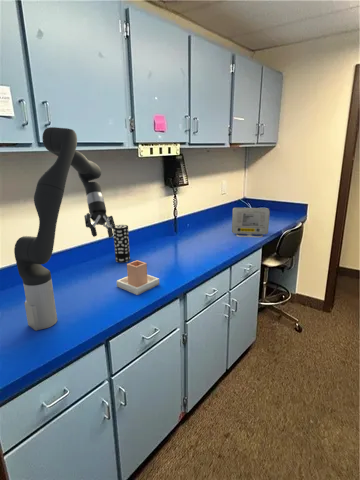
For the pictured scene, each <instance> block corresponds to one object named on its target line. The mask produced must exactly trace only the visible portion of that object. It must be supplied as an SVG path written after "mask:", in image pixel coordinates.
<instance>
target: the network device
mask: <svg viewBox="0 0 360 480" xmlns="http://www.w3.org/2000/svg"><path fill="white" fill-rule="evenodd" d="M270 213H271V211H270V208H268V207H233V208H232V216H231V217H232V219H231V232H232V233H233V234H236V237H239V238H264V235H267V234H268V233H269V229H270V228H269V226H270V225H269V224H270Z"/></svg>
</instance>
